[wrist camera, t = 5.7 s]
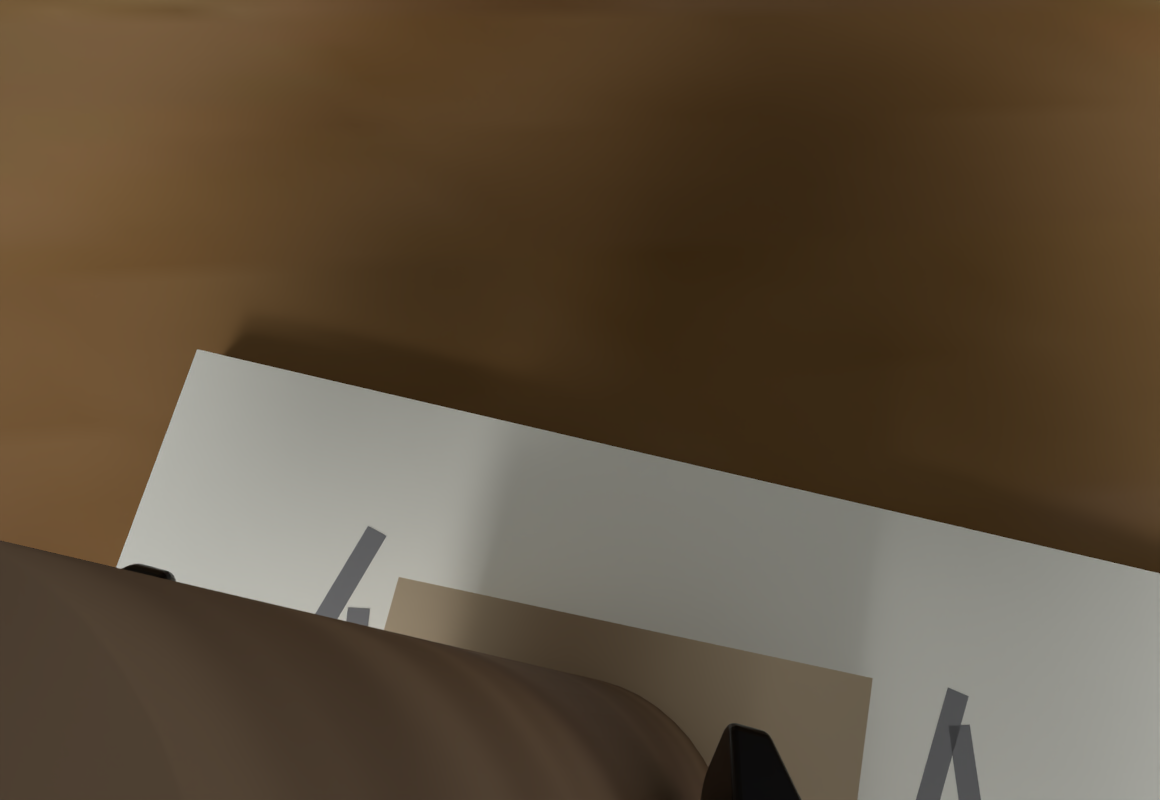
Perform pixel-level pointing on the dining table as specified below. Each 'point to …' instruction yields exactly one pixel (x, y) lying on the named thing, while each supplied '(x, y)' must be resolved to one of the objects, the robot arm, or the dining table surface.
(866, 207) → the dining table surface
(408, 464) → the board
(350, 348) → the dining table surface
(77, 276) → the dining table surface
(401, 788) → the brown piece
